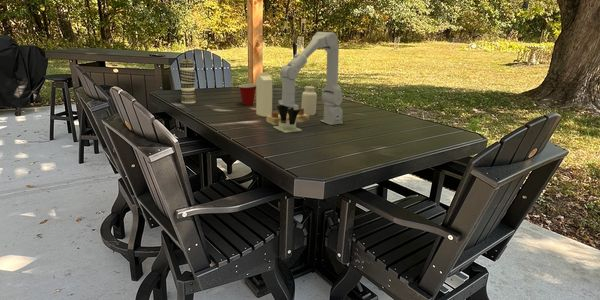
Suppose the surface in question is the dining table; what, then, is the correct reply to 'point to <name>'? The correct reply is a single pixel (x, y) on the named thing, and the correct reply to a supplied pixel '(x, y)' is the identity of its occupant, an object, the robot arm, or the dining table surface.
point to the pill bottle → (309, 100)
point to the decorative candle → (187, 81)
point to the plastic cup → (247, 93)
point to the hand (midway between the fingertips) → (287, 122)
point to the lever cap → (286, 125)
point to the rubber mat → (287, 129)
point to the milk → (264, 95)
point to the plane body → (276, 118)
